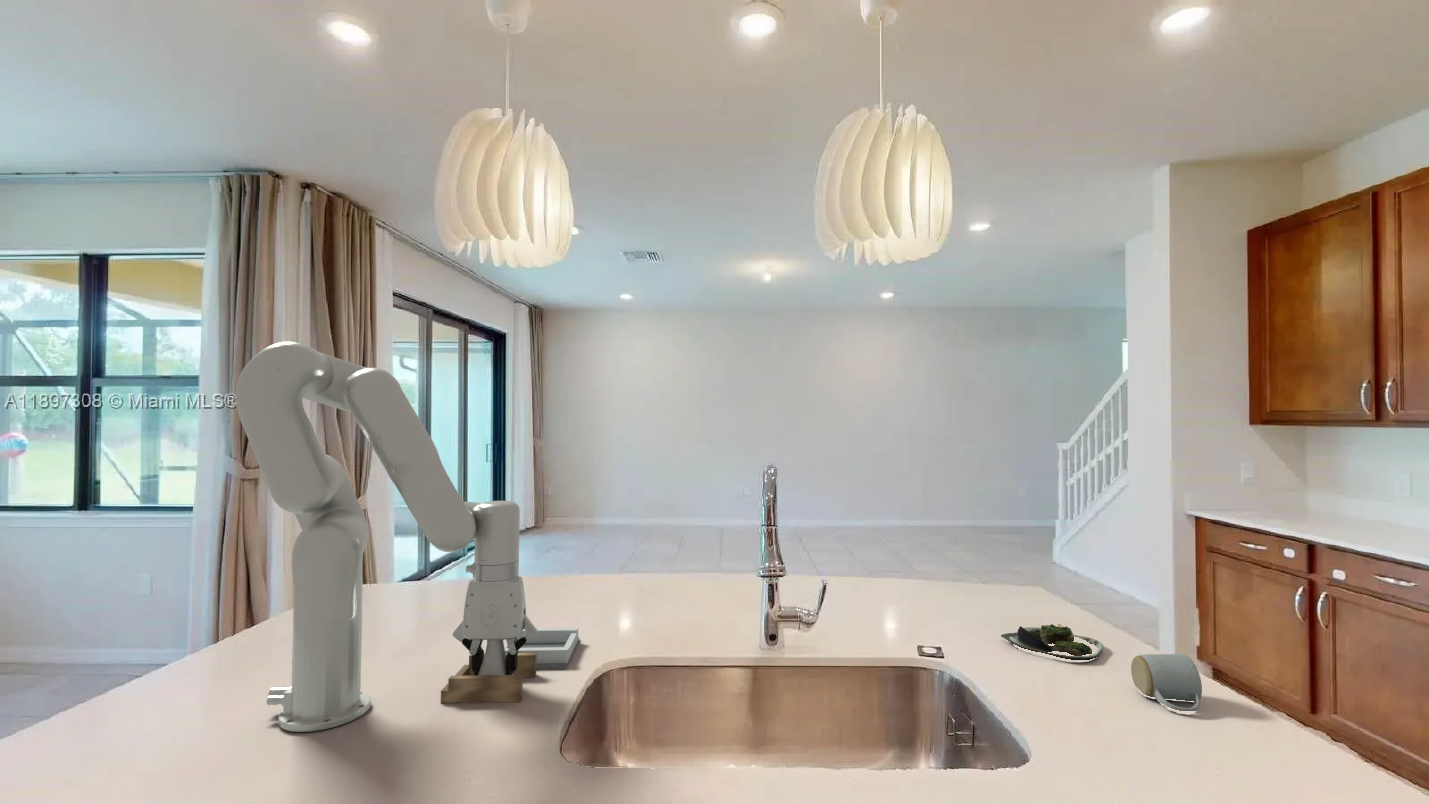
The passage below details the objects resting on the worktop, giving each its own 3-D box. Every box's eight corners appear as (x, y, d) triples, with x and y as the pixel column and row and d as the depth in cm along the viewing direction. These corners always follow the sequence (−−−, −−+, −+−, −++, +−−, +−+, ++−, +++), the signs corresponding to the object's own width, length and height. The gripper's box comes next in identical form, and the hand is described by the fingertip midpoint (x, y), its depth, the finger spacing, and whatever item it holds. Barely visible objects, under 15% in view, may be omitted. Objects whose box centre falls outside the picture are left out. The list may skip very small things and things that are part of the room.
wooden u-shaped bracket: (440, 703, 104) (441, 678, 104) (464, 675, 116) (464, 653, 116) (520, 701, 105) (521, 677, 105) (536, 674, 116) (536, 652, 116)
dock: (491, 670, 118) (491, 653, 118) (513, 640, 134) (513, 626, 134) (565, 669, 119) (565, 652, 119) (579, 640, 135) (579, 625, 135)
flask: (501, 698, 106) (503, 639, 106) (463, 694, 107) (465, 636, 108) (523, 681, 113) (524, 625, 113) (487, 678, 115) (488, 623, 115)
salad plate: (1026, 626, 147) (1026, 607, 147) (1114, 646, 134) (1113, 624, 135) (994, 647, 133) (994, 625, 133) (1089, 671, 121) (1088, 646, 121)
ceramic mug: (1128, 687, 112) (1127, 644, 112) (1178, 691, 111) (1178, 647, 111) (1160, 716, 102) (1159, 668, 102) (1216, 720, 100) (1215, 672, 101)
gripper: (439, 576, 107) (437, 684, 106) (540, 576, 108) (538, 683, 107) (455, 566, 114) (453, 667, 114) (549, 566, 115) (547, 666, 115)
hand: (494, 673), depth 110 cm, fingers closed on flask, 4 cm apart
